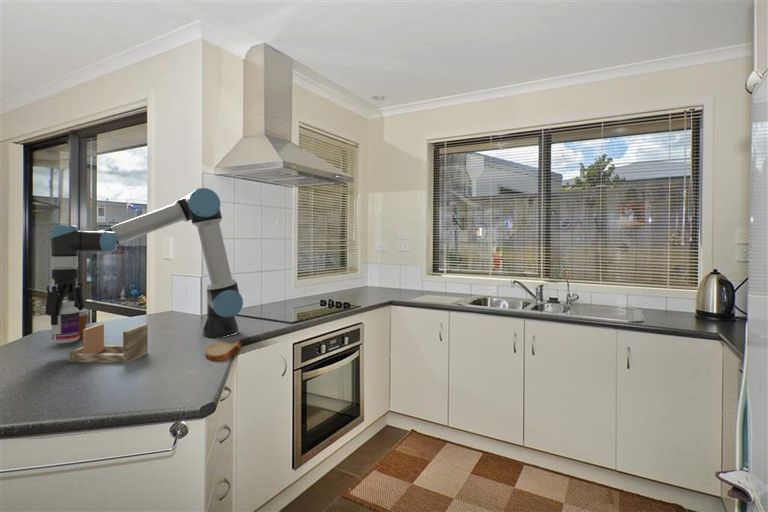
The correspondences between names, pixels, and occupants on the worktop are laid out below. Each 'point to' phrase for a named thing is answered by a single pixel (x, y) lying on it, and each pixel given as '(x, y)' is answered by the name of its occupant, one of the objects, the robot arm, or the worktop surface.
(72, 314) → the pill bottle
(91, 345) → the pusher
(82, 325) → the disposable coffee cup
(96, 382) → the worktop surface
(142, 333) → the lane
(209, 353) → the slice of bread
